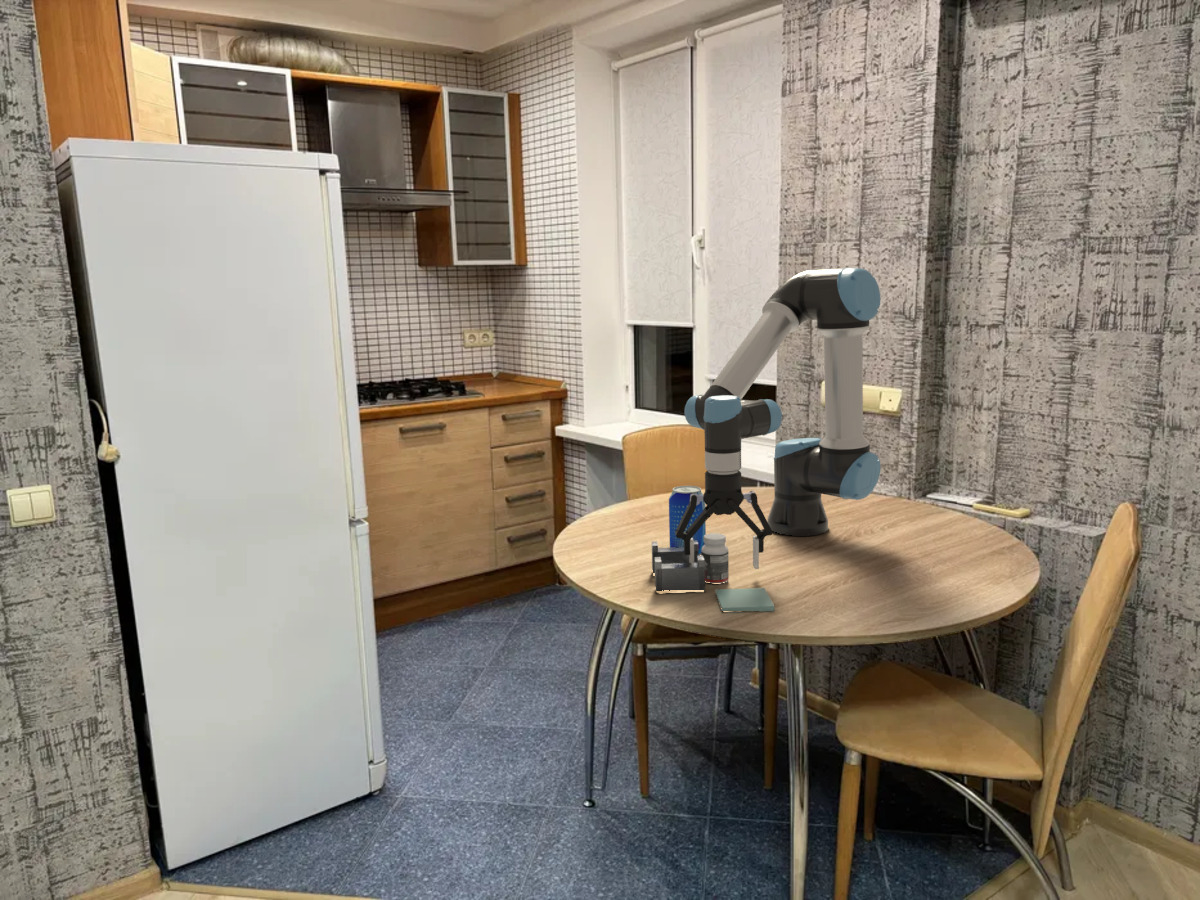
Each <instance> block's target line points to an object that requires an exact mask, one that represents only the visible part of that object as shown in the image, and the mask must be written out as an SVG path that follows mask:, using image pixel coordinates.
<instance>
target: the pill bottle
mask: <svg viewBox="0 0 1200 900" xmlns="http://www.w3.org/2000/svg"><path fill="white" fill-rule="evenodd" d="M703 541H704V543H705V545H704V546H703V547H702V550H701V556H703V557H704V560H705V581H706V582H710V583H723V582H726V581H727V582H729V574H730V573H729V570H730V569H729V567H730V566H729V548H728V546H727V545H726V542H727V537H726V535H725V534H722V533H716V532H710V533H706V535H704V540H703ZM727 582H726V583H727Z"/></svg>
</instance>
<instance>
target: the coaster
mask: <svg viewBox="0 0 1200 900" xmlns="http://www.w3.org/2000/svg"><path fill="white" fill-rule="evenodd" d="M715 592H716V594H715V596H716V595H717V597H716V599H717V598H718V600H717V602H718V601H719V602H718V604H719V603H720V605H719V607H720V606H721V608H722V610H721V612H722V611H759V612H775V605H774V602H773V601H772V599H771V598H770V596H769V594H768V592H767V590H766V588H765V587H754V588H753V587H752V588H729V589H728V588H725V589H723V588H722V589H720V588H719V589H715ZM715 592H714V593H715ZM721 608H720V609H721Z"/></svg>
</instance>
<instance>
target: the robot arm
mask: <svg viewBox="0 0 1200 900" xmlns="http://www.w3.org/2000/svg"><path fill="white" fill-rule="evenodd" d="M880 306H881V291H880V286H879V284H878V282H877V279H876V278H875V276H873V274H872V273H871V272H870V271H868V270H867V269H865V268H860V267H859V268H858V267H842V268H841V267H840V268H839V267H838V268H825V269H809V270H805V271H801V272H798V273H797V274H796V275H794V276H793V277H791V278H789V279H788V280H787V281H785V282H784V283H783V284H782V285H780V286H779V287H778V288H777V289H776V290H775V292H774V293H772V295H771V296H770V297H769V299H768V300H767V301H765V303H764V305H763V307H762V308H761V309H762V310H761V313H762V315H761V316H760V318H759V319H758V320H757V321H756V323H755V325H753V327H752V328H751V330H750V332H748V334H747V335H746V337H745V338H744V340H743V341H742V342H741V343H740V345H739V347H738V348H737V349H736V350H735V352H734V353H733V354H732V356H731V358H729V360H728V361H727V362H726V364H725V365H724V367H723V368H722V369H721V371H720V373H718V375H717V377H716V378H715V379H714V380H713V382H712V383H711V385H710V386H709V387H708V389H707V390H706V391H705V393H704V394H696V395H692V396H691V397H690V398H689V399H688V400H687V401H686V404H685V405H684V417H685V420H686V422H687V424H688V425H690V426H691V427H693V428H697V429H700V430H703V431H704V432H703V433H704V469H705V470H706V471H705V472H704V493H703V495H697V494H695V493H691V494H690V501H689V505H688V507H687V509H686V511H685V513H684V515H683V517H682V519H681V521H680V523H679V525H678V527H677V529H676V531H675V534H676V537H677V538H680V539H683V540H684V552H685V555H689V563H694V541H693V538H692V537H693V536H694V534H695V533H696V532H697V531H698V530H699V528H700V527H701V526H702V525H703V524H704V523H705V521H706V522H707V520H708V519H709V518H710V517H711V516H712V515H713V514H714V515H716V516H722V515H727V516H728V515H729V516H730V515H731V516H732V514H734V513H735V514H737V516H738V517H739V518H741V520H742V521H743V522H744V523H745V524H746V525H747V526H748V527H749V529H750V530H751V531H753V533H754V534H755V535H752V566H753V568H754V570H759V568H760V567H759V566H760V565H759V564H760V563H759V562H760V560H759V559H760V557H759V556H760V555H759V553H760V554H761V553H764V549H765V548H764V540H765V538H766V537H767V536H772V535H773V533H775V532H777V533H776V534H778V533H781V534H780V535H782V534H785V536H789V535H792V537H793V536H794V537H810V536H811V537H812V536H818V535H823V534H824V533H826V532H827V531H829V520H828V517H827V516H828V515H827V514H826V510H825V507H824V504H823V502H822V500H823V499H822V495H827V496H832V497H836V498H841V499H842V500H854V501H859V500H863V499H865V498H867V497H868V496H869V495H871V494H872V492H873V491H874V489H875V487H876V486H877V483H878V482H879V479H880V476H881V475H880V474H881V468H882V467H881V461H880V459H879V456H878V455H877V454H876V453H874V452H871V450H870V449H871V443H870V440H868V439H867V438H866V437H865V436H864V405H863V404H864V392H863V391H864V390H863V389H864V388H863V387H864V386H863V385H864V382H863V381H864V380H863V379H864V377H863V376H864V375H863V373H864V371H863V369H864V368H863V365H864V364H863V362H864V361H863V360H864V359H863V354H864V353H863V352H864V351H863V350H864V349H863V334H864V333H865V332H866V330H868V329H869V327H870V321H871V320H872V319H874V318H875V316H877V314H878V312H879V311H878V310H879V308H880ZM810 320H813V321H815V320H816V328H817V331H818V332H820V334H821V335H823V341H824V342H823V351H824V352H823V354H824V359H823V361H824V413H825V414H824V417H825V418H824V420H825V421H824V422H825V423H824V424H825V427H824V428H825V436H824V437H823V438H819V437H803V438H793V439H787V440H783V441H780V442H778V443H777V444H775V448H774V457H773V462H774V464H773V467H774V468H773V469H774V470H773V474H774V476H773V477H774V478H773V479H774V480H773V482H774V484H773V485H774V486H773V487H774V497H773V498H774V499H773V502H772V506H771V507H770V511H769V513H768V517H767V518H766V516H765V514H764V513H763V510H762V509H761V507H760V505H759V504H758V503H759V502H758V495H757V494H756V492H755V491H754V490H750V491H749V492H743V491H742V472H741V471H740V470H741V469H742V440H743V439H749V438H754V437H759V436H767V435H769V434H772V433H774V432H776V431H778V429H779V428H780V426H781V425H782V421H783V420H782V418H783V413H782V412H783V411H782V409H781V407H780V405H779V404H778V403H777V402H776V401H774V400H773V399H768V398H766V399H762V398H760V399H758V400H757V399H756V400H749V399H743V397H745V395H746V394H747V392H748V391H749V390H750V389H751V388H750V387H751V386H752V385H753V384H754V382H755V381H756V379H757V378H758V377H759V375H760V374H761V372H762V371H763V369H764V368H765V367H766V365H768V362H770V360H771V358H772V357H773V356H774V354H775V353H776V351H778V349H779V347H780V346H781V345H782V343H783V341H785V339H786V337H787V336H788V335H789V334H790V333H794V332H795V331H797V329H798V328H799V327H800V325H802V324H803V323H805V322H807V321H810ZM744 500H746V502H747V503H748V504H750V505H751V507H752V509H753V510H754V512H755V514H756V516H757V518H758V520H759V522H760V524H761V526H762V527H763V528H762V529H760V528H759V527H758V525H757V524H756V523H755V522H754V521H753V520H752V519H751V518H750V517H749V516H748V514H747V513H746V512H745V511H744V510H743V509H742V507H741V504H742V502H743V501H744ZM701 501H704V502H705V508H704V510H703V512H702V513H701V514H700V515H699V516H698V518H697V519H696V520H695V521H694V522H693V524H692V525H691V526H690V527H689V528H688V530H687V531H686V532H684V531H685V529H686V527H687V525H688V523H689V521H690V519H691V517H692V515H693V513H694V511H695V508H696V505H699V504H700V502H701ZM772 531H774V532H772Z"/></svg>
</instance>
